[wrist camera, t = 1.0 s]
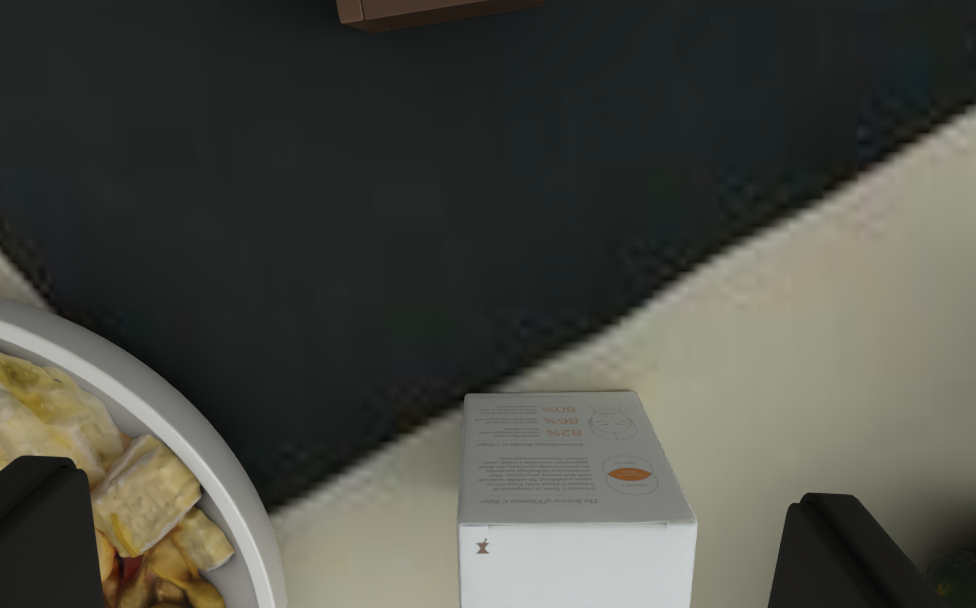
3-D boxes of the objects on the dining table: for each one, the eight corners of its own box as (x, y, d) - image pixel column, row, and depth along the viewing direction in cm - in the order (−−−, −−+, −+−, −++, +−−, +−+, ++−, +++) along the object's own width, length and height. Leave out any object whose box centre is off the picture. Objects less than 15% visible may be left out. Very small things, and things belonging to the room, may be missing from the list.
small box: (466, 495, 35) (455, 664, 25) (464, 388, 33) (451, 524, 23) (632, 495, 35) (688, 664, 25) (639, 388, 33) (702, 523, 23)
